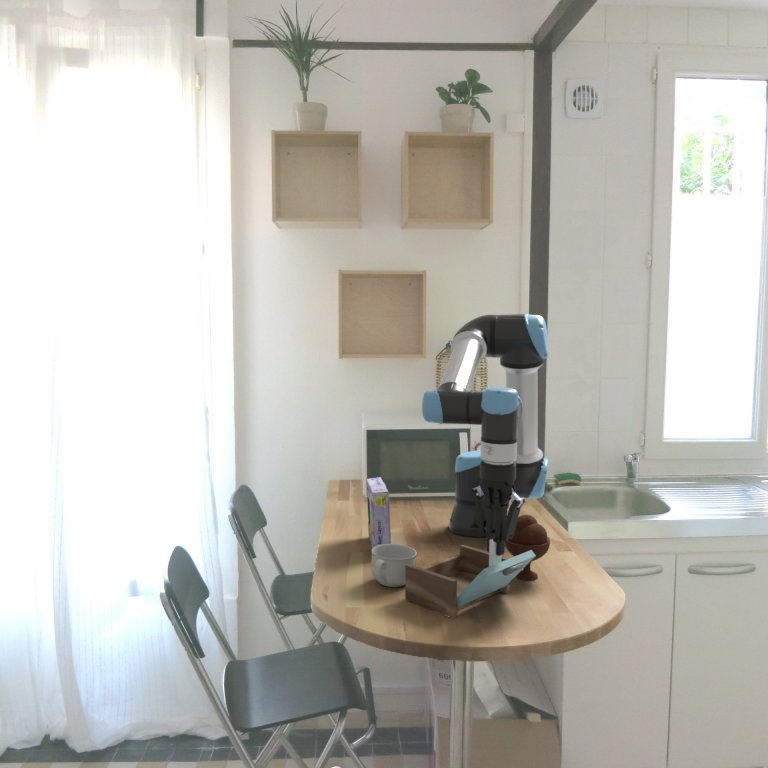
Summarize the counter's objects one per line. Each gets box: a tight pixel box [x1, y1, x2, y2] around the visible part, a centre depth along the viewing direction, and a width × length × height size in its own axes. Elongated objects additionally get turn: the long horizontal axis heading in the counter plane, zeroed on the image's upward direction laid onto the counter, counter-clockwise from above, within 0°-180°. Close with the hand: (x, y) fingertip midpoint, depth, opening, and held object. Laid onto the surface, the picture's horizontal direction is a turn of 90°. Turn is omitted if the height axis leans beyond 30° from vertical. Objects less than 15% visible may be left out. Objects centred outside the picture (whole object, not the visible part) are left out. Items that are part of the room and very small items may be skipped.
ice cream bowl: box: [505, 514, 551, 582], centre depth 174 cm, size 11×11×15 cm
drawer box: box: [404, 544, 511, 619], centre depth 162 cm, size 20×14×8 cm
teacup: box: [371, 543, 418, 588], centre depth 170 cm, size 14×11×8 cm
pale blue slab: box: [457, 550, 536, 607], centre depth 154 cm, size 17×3×12 cm
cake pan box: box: [366, 477, 392, 549], centre depth 197 cm, size 19×5×18 cm, turn 7°
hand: (495, 568), depth 154 cm, fingers closed
